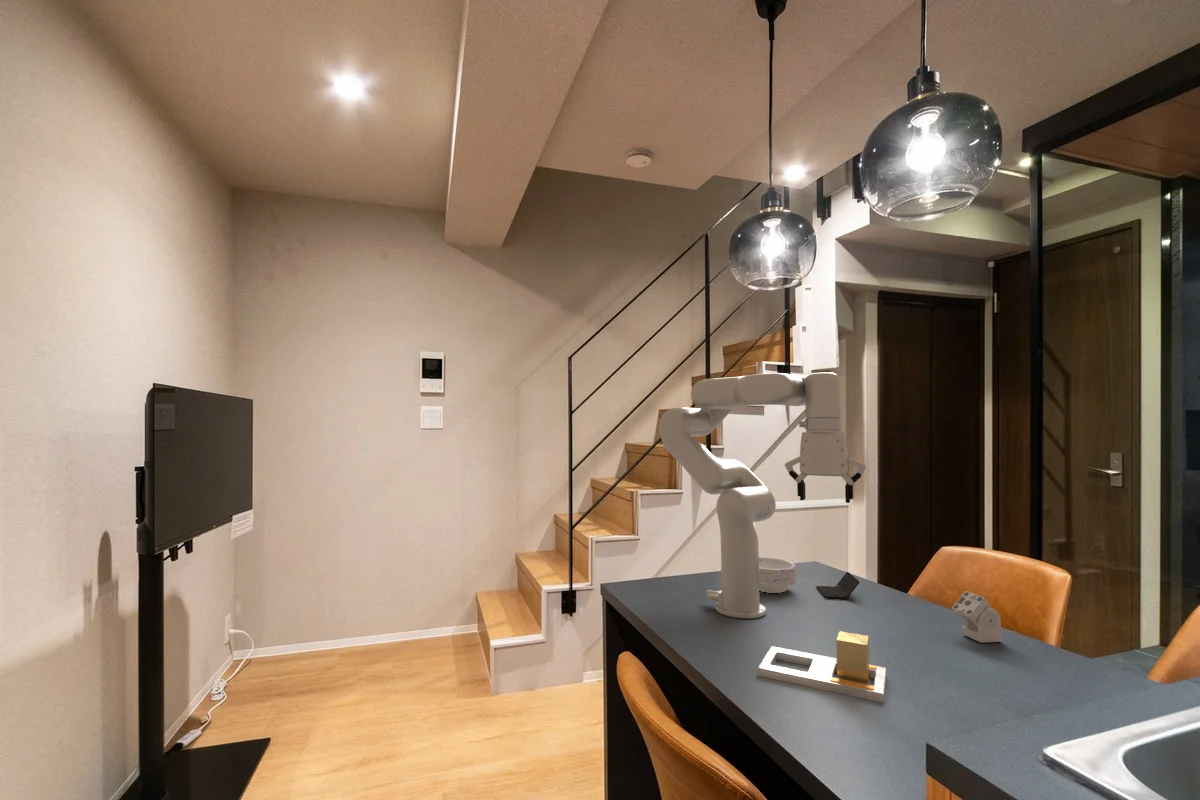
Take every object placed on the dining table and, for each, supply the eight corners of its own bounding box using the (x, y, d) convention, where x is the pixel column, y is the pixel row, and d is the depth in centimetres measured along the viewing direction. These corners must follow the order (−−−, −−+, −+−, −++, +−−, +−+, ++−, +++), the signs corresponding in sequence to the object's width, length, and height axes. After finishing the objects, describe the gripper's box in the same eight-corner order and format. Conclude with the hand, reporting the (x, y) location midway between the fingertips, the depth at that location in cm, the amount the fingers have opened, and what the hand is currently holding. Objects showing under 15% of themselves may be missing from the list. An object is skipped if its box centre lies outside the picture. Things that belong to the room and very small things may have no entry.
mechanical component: (1003, 643, 119) (1000, 596, 120) (970, 644, 118) (968, 597, 119) (983, 634, 124) (981, 589, 125) (951, 635, 123) (950, 590, 124)
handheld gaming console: (809, 583, 161) (830, 557, 161) (827, 597, 162) (849, 572, 161) (825, 600, 150) (848, 572, 149) (844, 616, 150) (868, 588, 150)
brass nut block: (837, 684, 99) (836, 639, 99) (840, 674, 103) (839, 631, 104) (868, 691, 96) (866, 644, 97) (869, 680, 101) (868, 635, 101)
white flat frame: (758, 675, 102) (758, 666, 102) (772, 653, 113) (771, 645, 113) (883, 702, 92) (883, 692, 92) (886, 675, 102) (885, 666, 103)
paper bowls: (797, 599, 150) (796, 570, 151) (740, 594, 155) (740, 566, 156) (795, 585, 165) (795, 558, 165) (744, 581, 169) (743, 555, 170)
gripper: (781, 426, 126) (782, 500, 125) (863, 425, 118) (865, 505, 117) (787, 426, 133) (788, 497, 132) (865, 426, 124) (868, 501, 123)
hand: (825, 501), depth 124 cm, fingers open, 9 cm apart
